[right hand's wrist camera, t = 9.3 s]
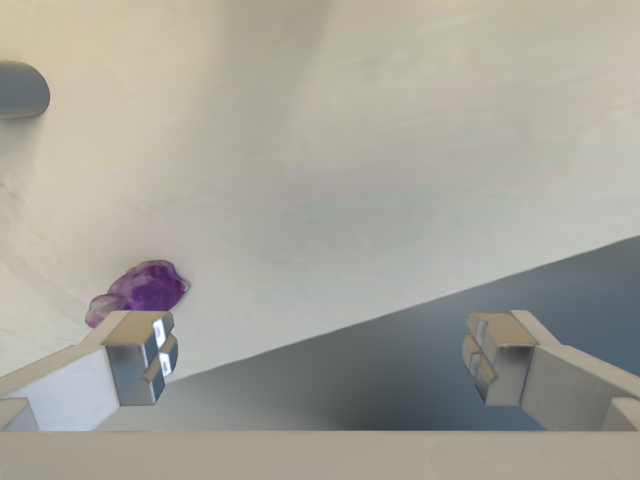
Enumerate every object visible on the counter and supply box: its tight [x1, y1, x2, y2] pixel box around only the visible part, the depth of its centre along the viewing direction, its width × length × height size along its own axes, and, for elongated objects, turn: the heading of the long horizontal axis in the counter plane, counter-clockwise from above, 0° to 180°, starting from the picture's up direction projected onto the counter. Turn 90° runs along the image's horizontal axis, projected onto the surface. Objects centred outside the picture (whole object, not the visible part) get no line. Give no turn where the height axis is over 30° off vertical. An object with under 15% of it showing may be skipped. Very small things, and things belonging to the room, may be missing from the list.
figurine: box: [85, 261, 188, 328], centre depth 56 cm, size 9×10×15 cm
